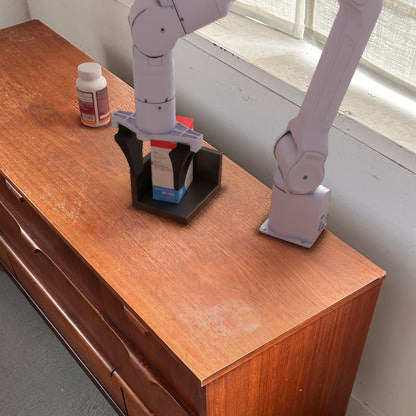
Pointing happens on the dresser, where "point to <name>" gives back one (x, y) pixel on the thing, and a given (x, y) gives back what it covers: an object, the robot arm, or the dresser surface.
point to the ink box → (167, 168)
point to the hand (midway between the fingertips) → (158, 180)
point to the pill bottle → (92, 95)
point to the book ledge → (195, 194)
